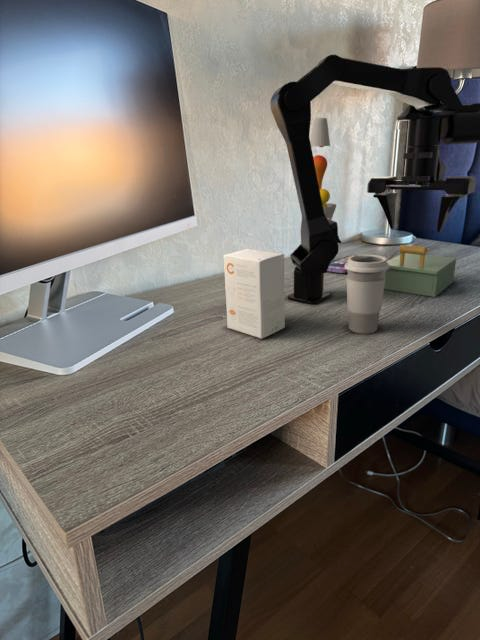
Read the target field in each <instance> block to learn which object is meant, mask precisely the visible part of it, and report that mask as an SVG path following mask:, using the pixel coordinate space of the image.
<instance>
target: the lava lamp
mask: <svg viewBox="0 0 480 640" xmlns="http://www.w3.org/2000/svg"><path fill="white" fill-rule="evenodd" d="M328 123H329V122H328V118H327V117H316V118H314V119H313V123H312V128H311V134H310V136H311V137H310V143H311V148H312V147H319V148H324V147H330V146H331V141H330V132H329V124H328ZM313 158H314V164H315V169H316V174H317V179H318V184H319V189H320V194H321V199H322V204H323V210H324V214H325V216H326V218H329V219H331V220H333V216H334V213H335V212H336V208H337V204H336V203H331V202H329V200H330V199H331V193H330V192H329V190H328V189H326V188H323V180H324V176H325V173H326V170H327V168H328V160H327V158H326V157H325V156H324V155H320V154H318V155H317V154H316V155H313ZM333 261H334V259H333V260H332V261H331V262H333ZM331 262H330V263H331Z"/></svg>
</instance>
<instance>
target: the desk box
mask: <svg viewBox="0 0 480 640" xmlns="http://www.w3.org/2000/svg"><path fill="white" fill-rule="evenodd" d="M456 263H457V260H456V261H455V262H454V263H452V264H451V265H449V266H448V267H447V268H445V269H444V270H443V271H441V272H440V273H438V274H437V275H435V274H428V273H420V272H413V271H405V270H398V269H391V268H389V269H388V270H386V272H385V277H386V279H385V285H384V290H389V291H395V292H402V293H407V294H414V295H419V296H426V297H432V298H436V297H437V296H438V295H439V294H441V293H442V292H443V291H444V290H445V289H447V288H448V287H449V286H450V285H452V284H453V283H454V278H455V272H456V271H455V270H456V265H457V264H456Z"/></svg>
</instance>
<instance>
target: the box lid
mask: <svg viewBox="0 0 480 640" xmlns="http://www.w3.org/2000/svg"><path fill="white" fill-rule="evenodd" d="M399 253H400V254H398V255H396V256H394V257H392V258H390V259H388V260H387V263H388V264H389V268H391V269H398V270H405V271H413V272H420V273H428V274H435V275H437V274H438V273H440V272H441V271H443V270H444V269H445V268H447V267H448V266H449V265H451V264H452V263H454V262H455V261H456V262H457V257H448V256H439V255H431V254H427V253H428V247H427V246H418V245H408V244H401V245H399Z"/></svg>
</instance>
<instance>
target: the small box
mask: <svg viewBox="0 0 480 640" xmlns="http://www.w3.org/2000/svg"><path fill="white" fill-rule="evenodd" d="M223 267H224V287H225V290H224V291H225V305H226V308H225V309H226V324H227V325H226V327H227V328H228V329H230V330H233V331H236V332H239V333H243V334H245V335H249V336H252V337H255V338H258V339H264V338H267V337H268V336H271V335H273V334H275V333H277V332H279V331H281V330H283V329H284V328H285V327H286V309H285V307H286V304H285V303H286V302H285V301H286V300H285V299H286V298H285V295H286V294H285V293H286V292H285V254H284V253H280V252H273V251H266V250H259V249H255V248H254V249H253V248H246V249H242V250H238V251H234V252H230V253H226V254H223Z"/></svg>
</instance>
